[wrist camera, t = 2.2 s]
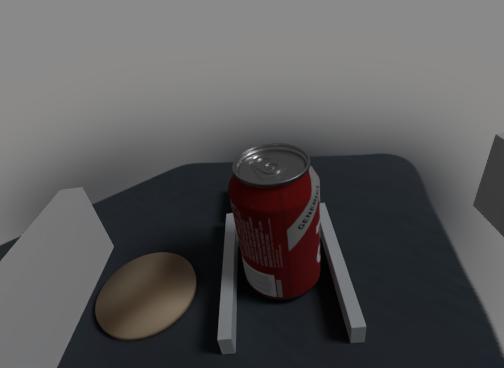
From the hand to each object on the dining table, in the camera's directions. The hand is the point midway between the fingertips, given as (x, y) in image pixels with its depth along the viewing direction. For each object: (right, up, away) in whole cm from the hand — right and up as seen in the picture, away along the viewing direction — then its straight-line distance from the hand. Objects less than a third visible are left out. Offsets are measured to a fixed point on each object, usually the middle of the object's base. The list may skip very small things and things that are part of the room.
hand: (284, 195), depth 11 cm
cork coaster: (-11, -10, +19) cm, 24 cm away
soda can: (+2, -8, +19) cm, 20 cm away
